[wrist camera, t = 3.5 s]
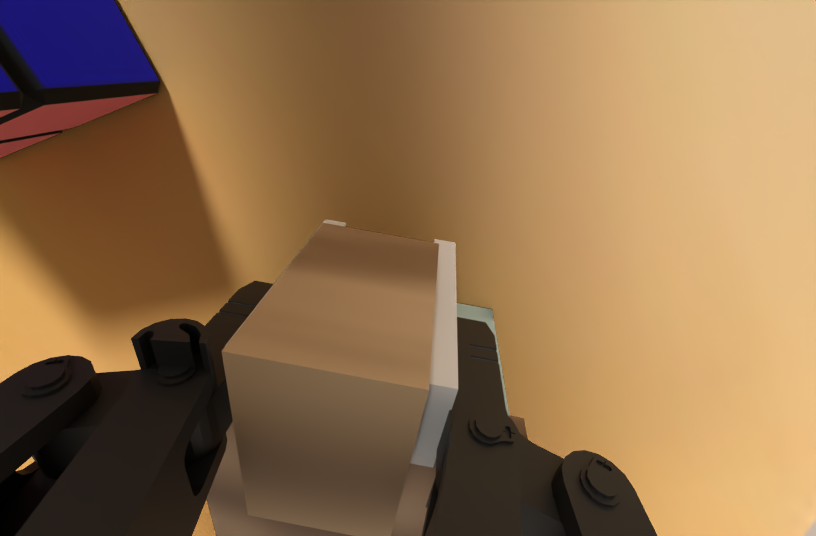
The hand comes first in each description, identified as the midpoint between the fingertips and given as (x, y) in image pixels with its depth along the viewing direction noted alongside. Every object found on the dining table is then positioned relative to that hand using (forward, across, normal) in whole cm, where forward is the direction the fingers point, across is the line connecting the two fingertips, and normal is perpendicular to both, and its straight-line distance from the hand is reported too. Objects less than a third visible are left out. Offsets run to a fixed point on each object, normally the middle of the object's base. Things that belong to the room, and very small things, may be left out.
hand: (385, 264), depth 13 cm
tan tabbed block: (-2, 0, -7) cm, 7 cm away
